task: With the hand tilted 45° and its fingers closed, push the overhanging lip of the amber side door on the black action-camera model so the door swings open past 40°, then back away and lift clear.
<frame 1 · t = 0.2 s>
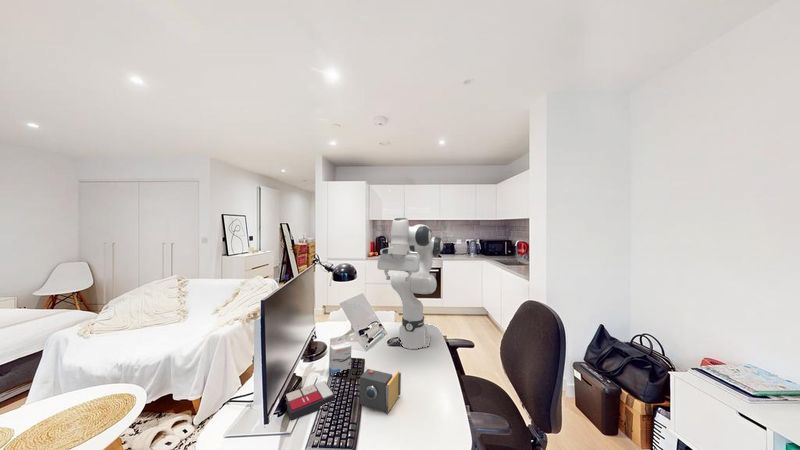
hand: (397, 280, 125), 39 cm above the table, tool pointing down, fingers open, 8 cm apart
calculator: (309, 405, 95), on the table
side door: (393, 391, 95), point 5 cm above the table, hinge at 0.0°
ink box: (340, 372, 117), on the table
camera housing: (375, 403, 96), on the table
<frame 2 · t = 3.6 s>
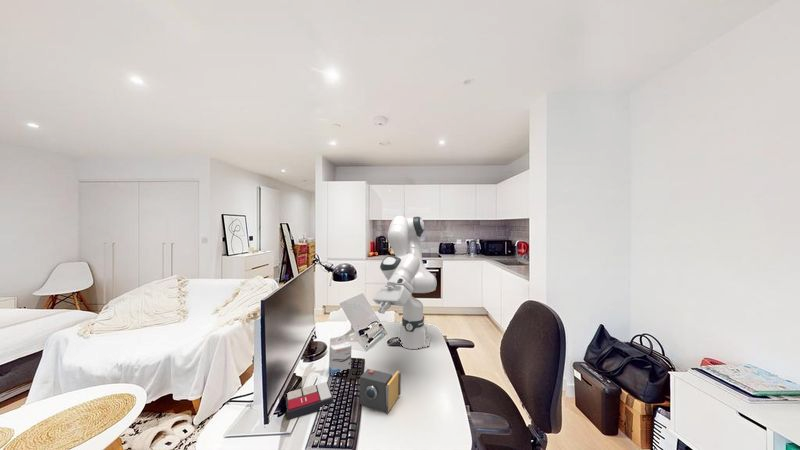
hand: (380, 312, 108), 29 cm above the table, tool tilted 45°, fingers closed
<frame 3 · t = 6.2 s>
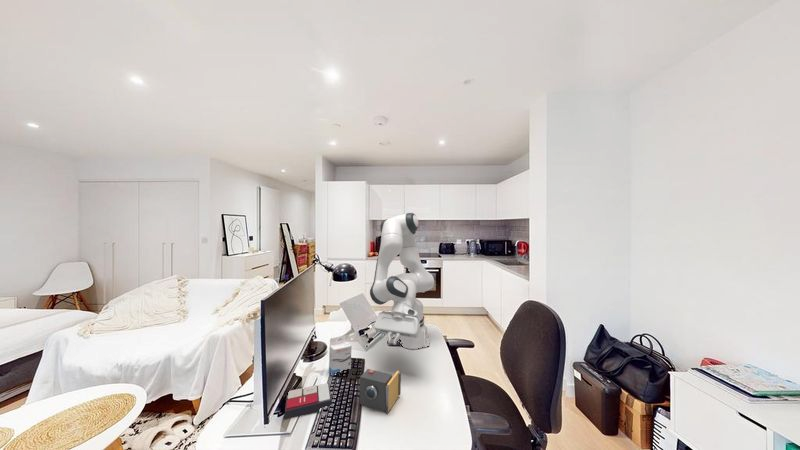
hand: (391, 344, 110), 16 cm above the table, tool tilted 45°, fingers closed
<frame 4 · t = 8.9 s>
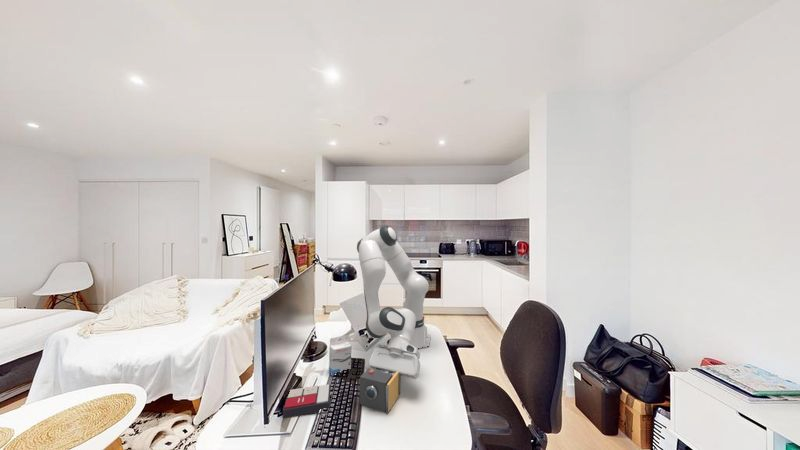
hand: (388, 385, 99), 5 cm above the table, tool tilted 45°, fingers closed
side door: (393, 391, 95), point 5 cm above the table, hinge at 0.0°, touching gripper
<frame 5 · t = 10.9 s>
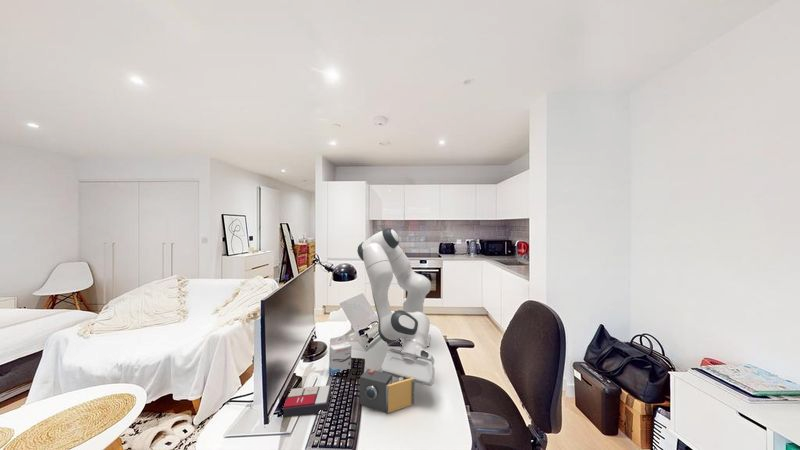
hand: (401, 392, 95), 5 cm above the table, tool tilted 45°, fingers closed, pressing on side door
side door: (400, 395, 93), point 5 cm above the table, hinge at 40.8°, touching gripper
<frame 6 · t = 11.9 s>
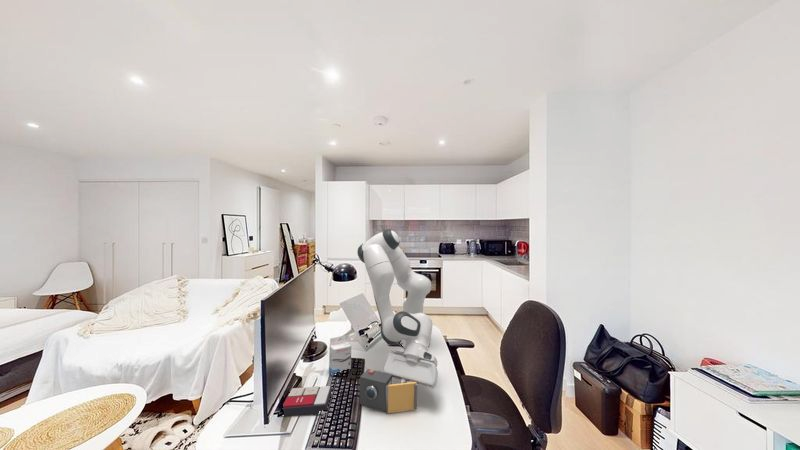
hand: (404, 394, 94), 5 cm above the table, tool tilted 45°, fingers closed
side door: (401, 397, 91), point 5 cm above the table, hinge at 56.3°, touching gripper
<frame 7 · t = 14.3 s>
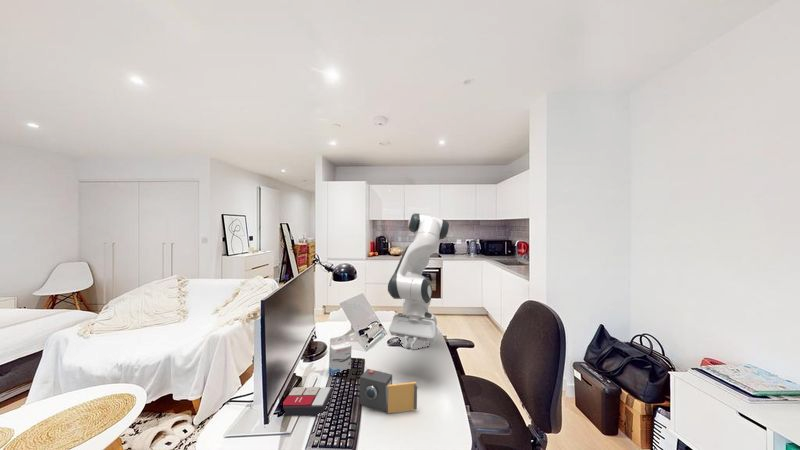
hand: (408, 348, 106), 16 cm above the table, tool tilted 45°, fingers closed
side door: (401, 397, 91), point 5 cm above the table, hinge at 56.4°
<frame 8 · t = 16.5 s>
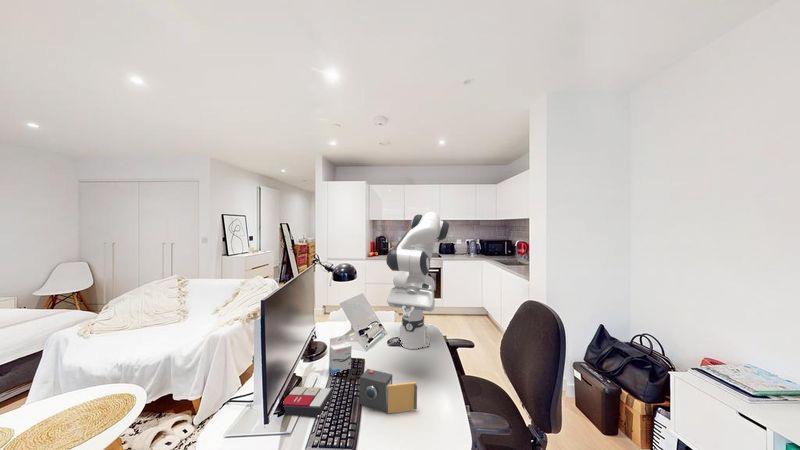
hand: (406, 317, 107), 27 cm above the table, tool tilted 45°, fingers closed
at the end: side door at +56° (first picture: +0°) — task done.
